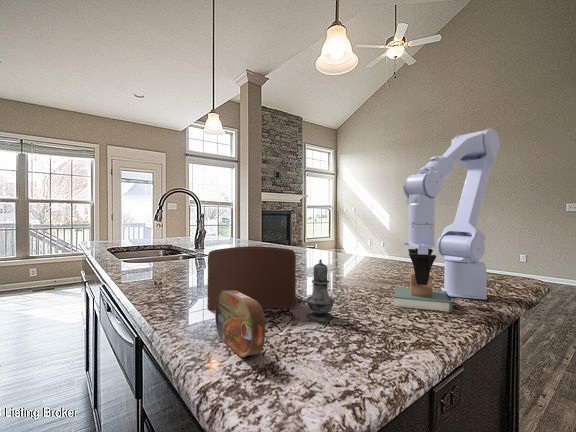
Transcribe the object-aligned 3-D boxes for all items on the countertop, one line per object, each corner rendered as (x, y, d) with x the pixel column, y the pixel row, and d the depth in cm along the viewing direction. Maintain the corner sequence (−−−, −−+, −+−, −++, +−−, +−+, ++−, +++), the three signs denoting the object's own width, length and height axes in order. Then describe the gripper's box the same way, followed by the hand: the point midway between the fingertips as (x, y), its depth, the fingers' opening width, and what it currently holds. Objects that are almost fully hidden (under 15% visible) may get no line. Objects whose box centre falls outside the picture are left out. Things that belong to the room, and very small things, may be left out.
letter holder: (296, 308, 70) (296, 246, 70) (206, 310, 69) (206, 247, 68) (291, 296, 80) (291, 242, 80) (213, 298, 79) (213, 242, 78)
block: (430, 292, 76) (430, 271, 75) (431, 297, 71) (432, 275, 71) (410, 290, 77) (410, 270, 77) (410, 295, 73) (411, 273, 73)
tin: (213, 332, 56) (213, 286, 56) (230, 328, 58) (230, 283, 58) (249, 367, 43) (249, 308, 43) (269, 362, 45) (269, 304, 45)
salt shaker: (333, 323, 61) (334, 261, 61) (304, 320, 62) (304, 260, 62) (335, 313, 67) (335, 257, 66) (308, 311, 68) (308, 256, 68)
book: (446, 301, 77) (446, 291, 77) (451, 313, 67) (452, 302, 67) (394, 296, 81) (394, 286, 81) (393, 307, 72) (393, 296, 72)
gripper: (403, 222, 82) (403, 273, 82) (403, 225, 68) (403, 286, 69) (432, 223, 80) (432, 275, 80) (438, 225, 66) (438, 289, 66)
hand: (421, 280), depth 74 cm, fingers open, 7 cm apart
